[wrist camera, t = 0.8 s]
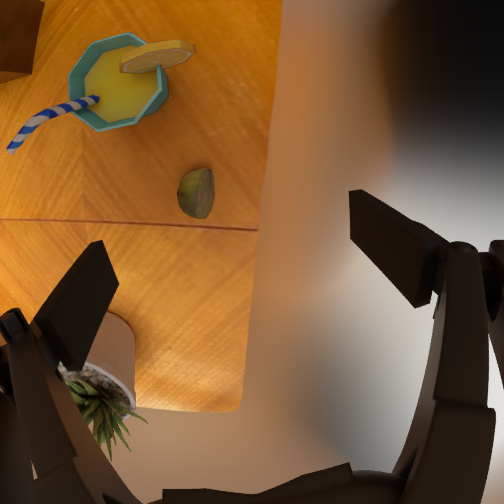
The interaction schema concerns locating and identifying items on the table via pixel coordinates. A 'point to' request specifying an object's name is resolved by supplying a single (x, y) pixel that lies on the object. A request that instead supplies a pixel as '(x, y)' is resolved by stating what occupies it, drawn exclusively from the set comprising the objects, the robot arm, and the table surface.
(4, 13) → the dark brown box
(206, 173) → the lime
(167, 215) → the table surface
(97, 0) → the table surface
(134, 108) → the cup
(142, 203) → the table surface
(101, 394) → the potted plant
